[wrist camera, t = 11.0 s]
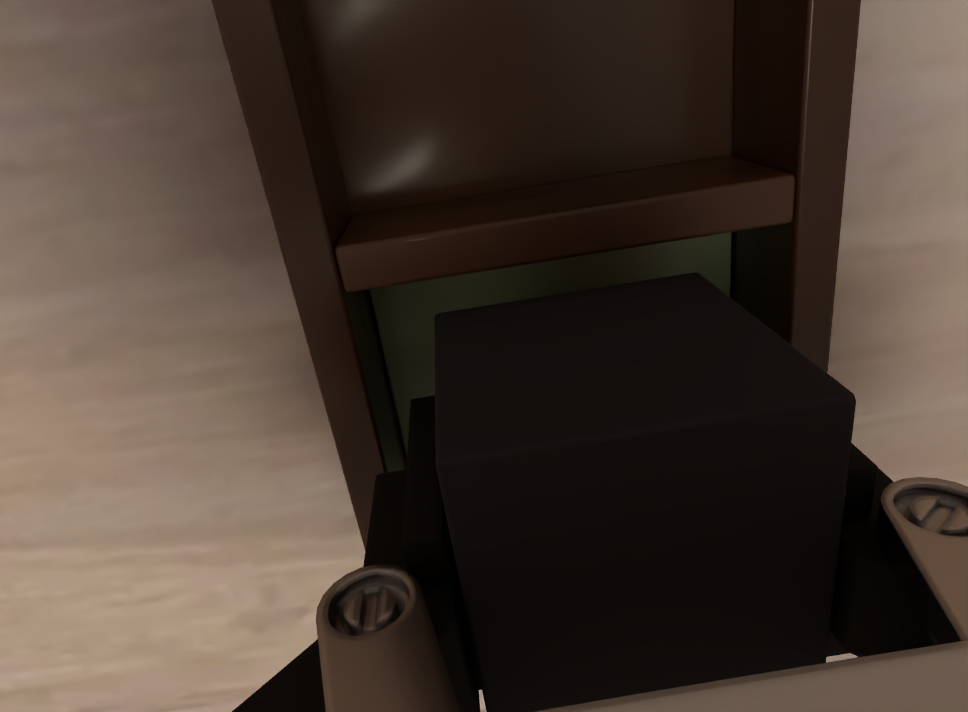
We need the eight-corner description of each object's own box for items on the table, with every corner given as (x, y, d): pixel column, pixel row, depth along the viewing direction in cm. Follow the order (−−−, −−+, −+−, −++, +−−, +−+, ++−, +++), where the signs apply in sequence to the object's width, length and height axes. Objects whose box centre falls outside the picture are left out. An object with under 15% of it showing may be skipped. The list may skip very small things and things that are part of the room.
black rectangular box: (433, 312, 11) (434, 463, 7) (698, 270, 11) (860, 394, 7) (483, 577, 14) (506, 806, 9) (698, 541, 14) (817, 754, 9)
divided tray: (401, 560, 17) (394, 660, 14) (176, -338, 9) (67, -509, 7) (745, 504, 17) (809, 593, 14) (777, -428, 10) (921, -636, 7)
